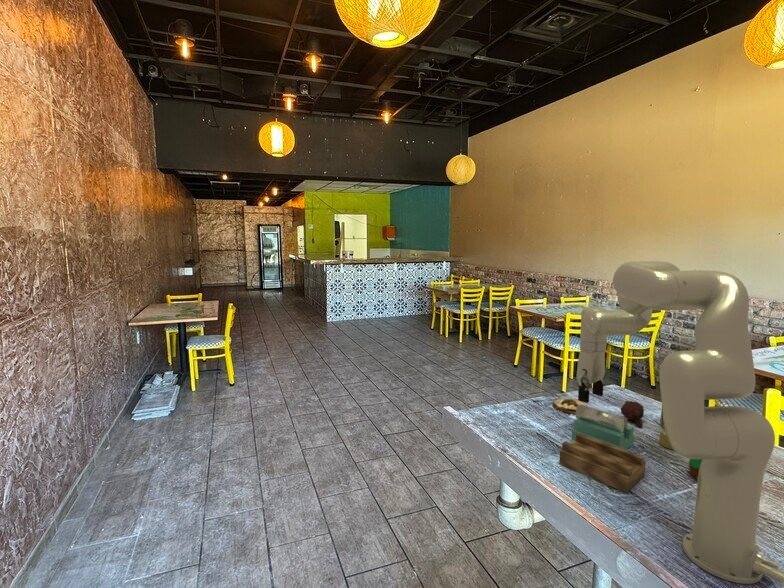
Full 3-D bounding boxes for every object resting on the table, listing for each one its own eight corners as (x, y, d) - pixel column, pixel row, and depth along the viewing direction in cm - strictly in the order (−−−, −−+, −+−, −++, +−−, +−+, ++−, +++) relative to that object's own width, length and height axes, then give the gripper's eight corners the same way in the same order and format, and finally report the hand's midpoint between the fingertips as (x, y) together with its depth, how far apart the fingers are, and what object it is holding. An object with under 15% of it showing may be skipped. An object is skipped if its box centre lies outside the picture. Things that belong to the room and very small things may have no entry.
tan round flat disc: (589, 404, 162) (590, 394, 161) (593, 419, 148) (593, 408, 147) (549, 399, 167) (550, 389, 166) (549, 413, 153) (549, 402, 153)
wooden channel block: (644, 476, 111) (646, 455, 111) (626, 493, 104) (628, 470, 103) (579, 450, 125) (580, 431, 124) (559, 463, 118) (560, 444, 117)
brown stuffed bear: (613, 394, 155) (625, 413, 140) (635, 391, 152) (649, 410, 138) (617, 410, 156) (629, 431, 141) (638, 408, 153) (653, 428, 139)
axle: (626, 432, 127) (628, 416, 126) (620, 435, 123) (621, 419, 123) (581, 418, 137) (583, 403, 137) (574, 420, 134) (576, 405, 134)
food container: (685, 461, 119) (688, 428, 117) (712, 469, 115) (716, 435, 114) (682, 480, 109) (685, 445, 108) (711, 489, 105) (714, 452, 104)
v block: (633, 444, 129) (635, 426, 128) (617, 456, 121) (618, 437, 121) (589, 428, 140) (590, 412, 139) (571, 439, 132) (572, 421, 131)
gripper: (593, 340, 139) (591, 389, 140) (567, 348, 128) (566, 401, 129) (616, 344, 133) (614, 395, 135) (592, 352, 122) (589, 407, 124)
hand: (590, 398), depth 132 cm, fingers open, 9 cm apart
